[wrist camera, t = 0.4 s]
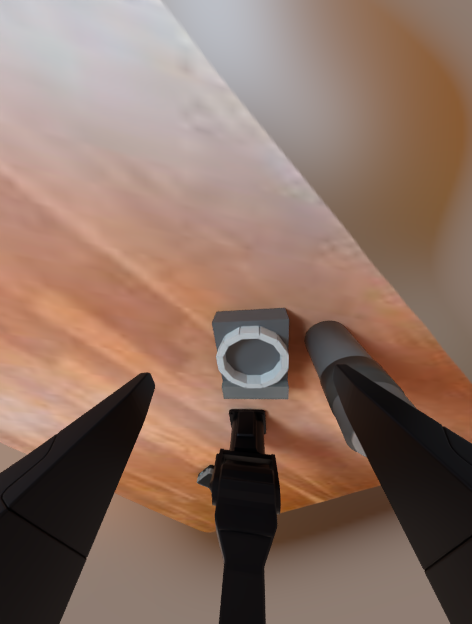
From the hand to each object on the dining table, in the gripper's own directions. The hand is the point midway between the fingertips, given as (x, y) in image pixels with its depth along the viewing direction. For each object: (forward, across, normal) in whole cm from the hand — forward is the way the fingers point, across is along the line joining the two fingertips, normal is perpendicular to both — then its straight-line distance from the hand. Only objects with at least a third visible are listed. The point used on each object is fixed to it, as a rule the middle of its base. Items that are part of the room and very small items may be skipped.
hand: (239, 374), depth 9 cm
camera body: (+15, -1, +10) cm, 18 cm away
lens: (+14, -11, +8) cm, 20 cm away
